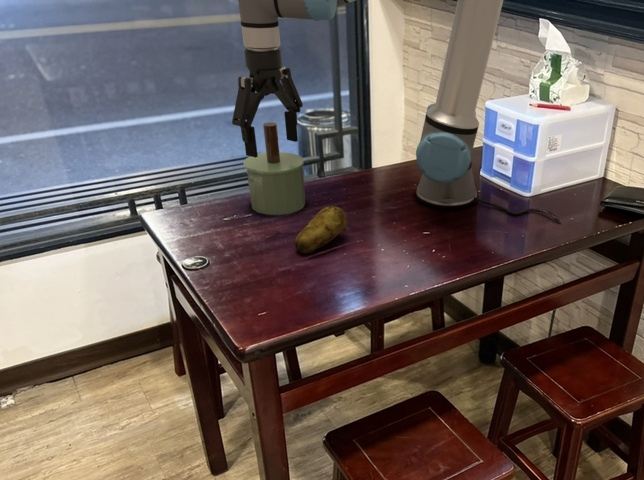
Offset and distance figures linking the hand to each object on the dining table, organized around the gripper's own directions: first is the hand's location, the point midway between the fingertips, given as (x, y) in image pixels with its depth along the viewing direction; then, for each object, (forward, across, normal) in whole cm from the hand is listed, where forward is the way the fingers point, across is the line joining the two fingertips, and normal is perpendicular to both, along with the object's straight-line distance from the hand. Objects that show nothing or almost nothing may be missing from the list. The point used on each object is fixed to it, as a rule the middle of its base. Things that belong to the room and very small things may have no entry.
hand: (272, 148), depth 140 cm
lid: (+4, 0, 0) cm, 4 cm away
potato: (+14, +11, +22) cm, 28 cm away
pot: (+14, 0, 0) cm, 14 cm away
